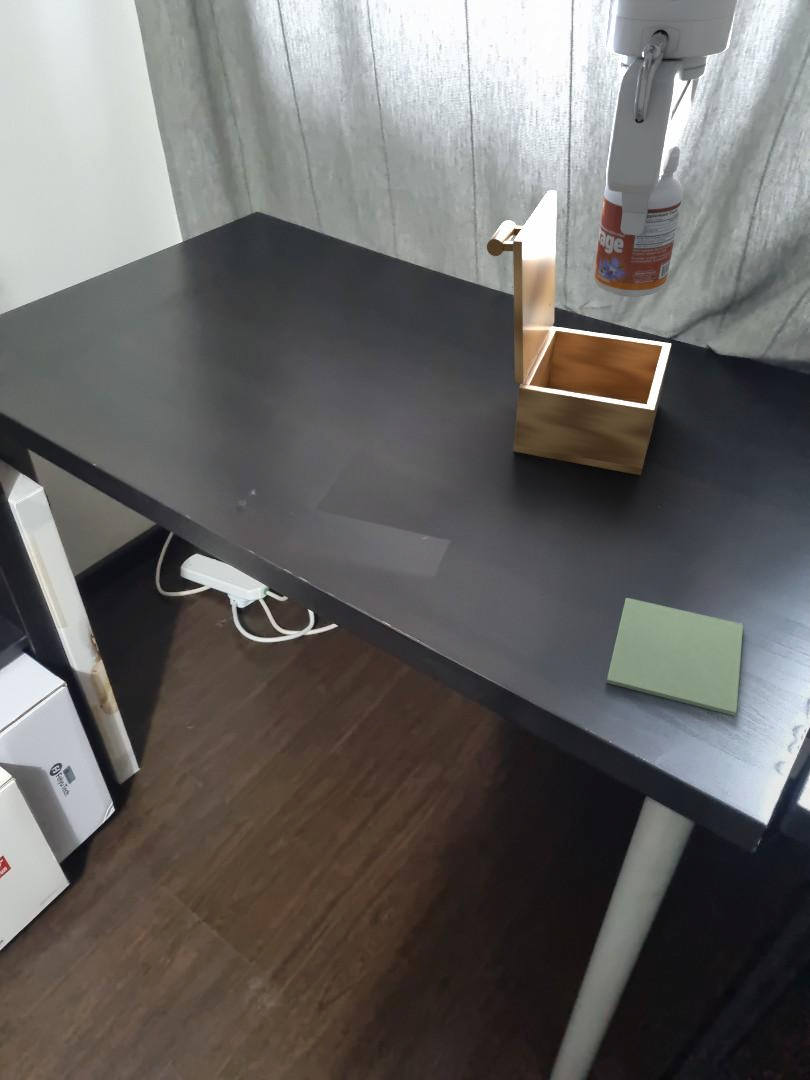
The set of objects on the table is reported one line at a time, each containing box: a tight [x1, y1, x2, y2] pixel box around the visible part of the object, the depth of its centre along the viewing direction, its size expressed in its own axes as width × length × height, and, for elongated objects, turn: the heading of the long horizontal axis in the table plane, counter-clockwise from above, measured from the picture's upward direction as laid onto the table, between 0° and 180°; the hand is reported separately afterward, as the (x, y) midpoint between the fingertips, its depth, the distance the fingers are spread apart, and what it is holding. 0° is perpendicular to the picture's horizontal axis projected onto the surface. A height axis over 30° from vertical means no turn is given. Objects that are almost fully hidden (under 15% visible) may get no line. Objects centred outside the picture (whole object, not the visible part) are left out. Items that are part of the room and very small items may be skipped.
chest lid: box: [486, 190, 557, 384], centre depth 79 cm, size 13×14×4 cm
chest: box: [513, 326, 672, 476], centre depth 84 cm, size 13×14×7 cm
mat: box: [606, 597, 744, 717], centre depth 62 cm, size 9×9×1 cm
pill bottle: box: [593, 145, 684, 298], centre depth 69 cm, size 6×6×11 cm
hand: (639, 216), depth 68 cm, fingers closed on pill bottle, 6 cm apart
